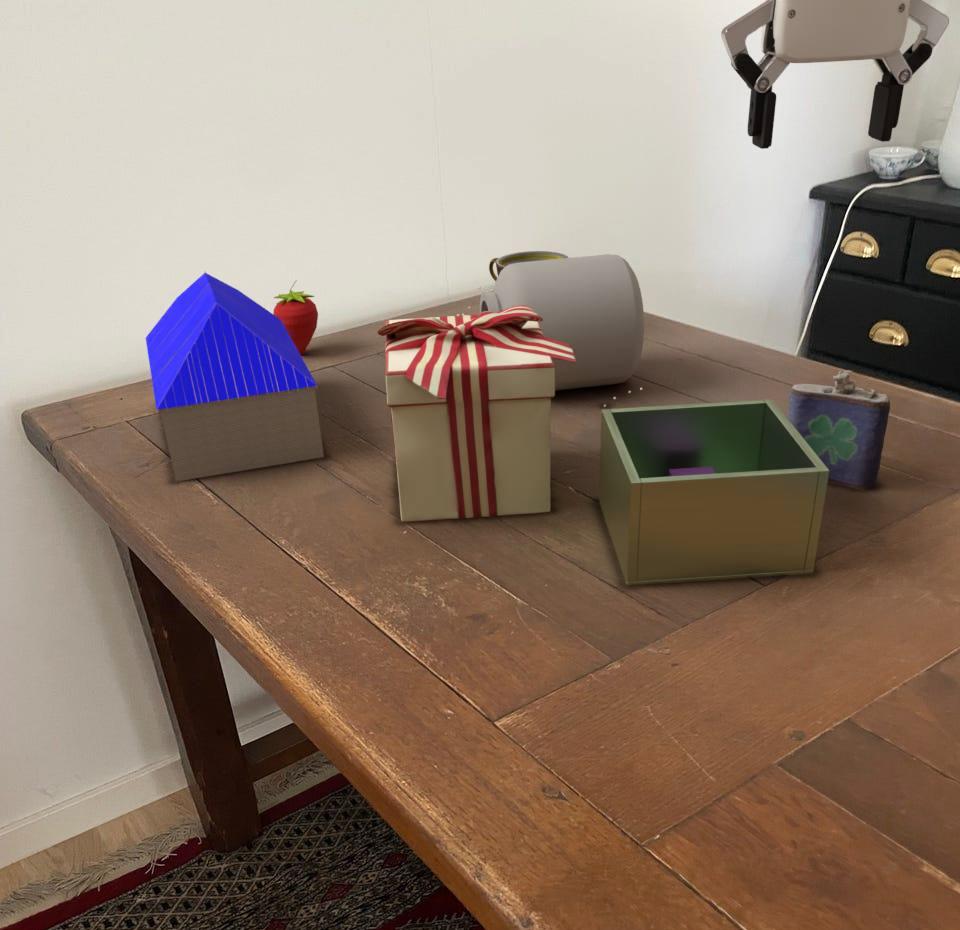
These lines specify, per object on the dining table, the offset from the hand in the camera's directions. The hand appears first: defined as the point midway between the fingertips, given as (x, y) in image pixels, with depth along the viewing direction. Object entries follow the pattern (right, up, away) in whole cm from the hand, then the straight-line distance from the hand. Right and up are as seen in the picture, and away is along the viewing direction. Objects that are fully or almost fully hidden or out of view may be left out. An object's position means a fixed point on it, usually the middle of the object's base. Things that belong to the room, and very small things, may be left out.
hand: (820, 142), depth 83 cm
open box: (-8, -31, +8) cm, 33 cm away
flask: (+6, -25, +17) cm, 31 cm away
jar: (-21, -11, +40) cm, 46 cm away
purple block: (-8, -31, +8) cm, 33 cm away
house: (-55, -16, +35) cm, 67 cm away
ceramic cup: (-21, +2, +60) cm, 64 cm away
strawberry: (-52, -2, +56) cm, 76 cm away
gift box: (-28, -26, +18) cm, 42 cm away
